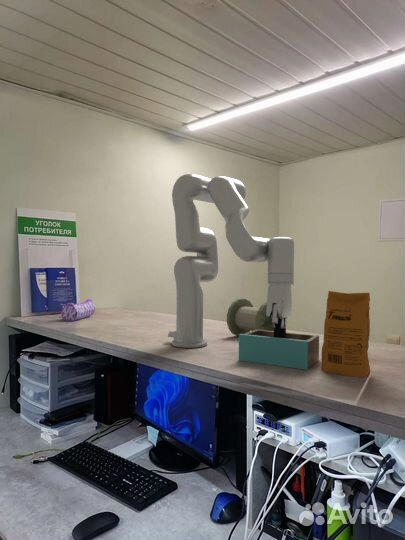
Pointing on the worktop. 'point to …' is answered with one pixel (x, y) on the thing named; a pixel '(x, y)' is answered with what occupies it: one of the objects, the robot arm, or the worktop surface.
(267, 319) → the spool
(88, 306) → the pencil case
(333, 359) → the coffee package
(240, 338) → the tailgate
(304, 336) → the crate
